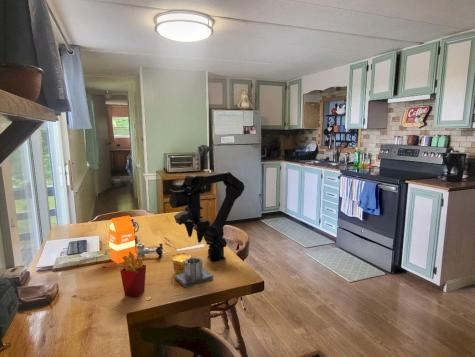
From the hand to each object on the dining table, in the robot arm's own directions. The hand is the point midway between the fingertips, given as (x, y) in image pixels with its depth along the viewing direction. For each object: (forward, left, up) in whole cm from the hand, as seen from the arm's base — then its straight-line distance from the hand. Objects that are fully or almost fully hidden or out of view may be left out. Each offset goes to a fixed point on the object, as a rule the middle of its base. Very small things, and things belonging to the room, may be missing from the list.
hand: (194, 239), depth 131 cm
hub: (+6, +11, -10) cm, 16 cm away
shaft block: (+6, +11, -12) cm, 17 cm away
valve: (+13, -22, -12) cm, 28 cm away
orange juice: (+24, -27, -12) cm, 38 cm away
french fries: (+30, +9, -12) cm, 34 cm away
